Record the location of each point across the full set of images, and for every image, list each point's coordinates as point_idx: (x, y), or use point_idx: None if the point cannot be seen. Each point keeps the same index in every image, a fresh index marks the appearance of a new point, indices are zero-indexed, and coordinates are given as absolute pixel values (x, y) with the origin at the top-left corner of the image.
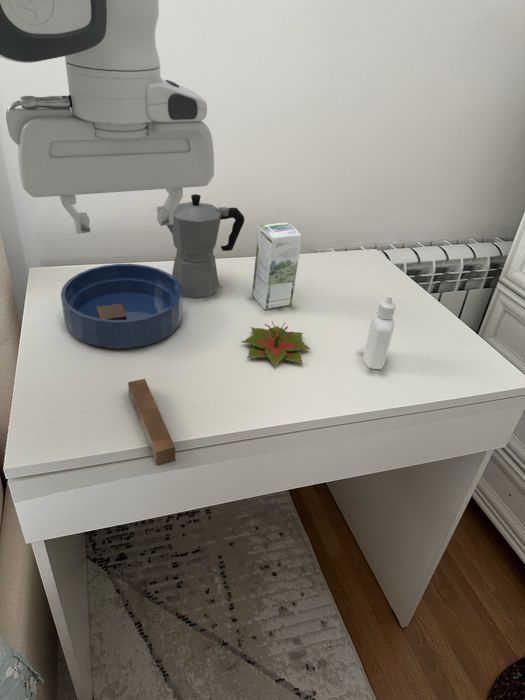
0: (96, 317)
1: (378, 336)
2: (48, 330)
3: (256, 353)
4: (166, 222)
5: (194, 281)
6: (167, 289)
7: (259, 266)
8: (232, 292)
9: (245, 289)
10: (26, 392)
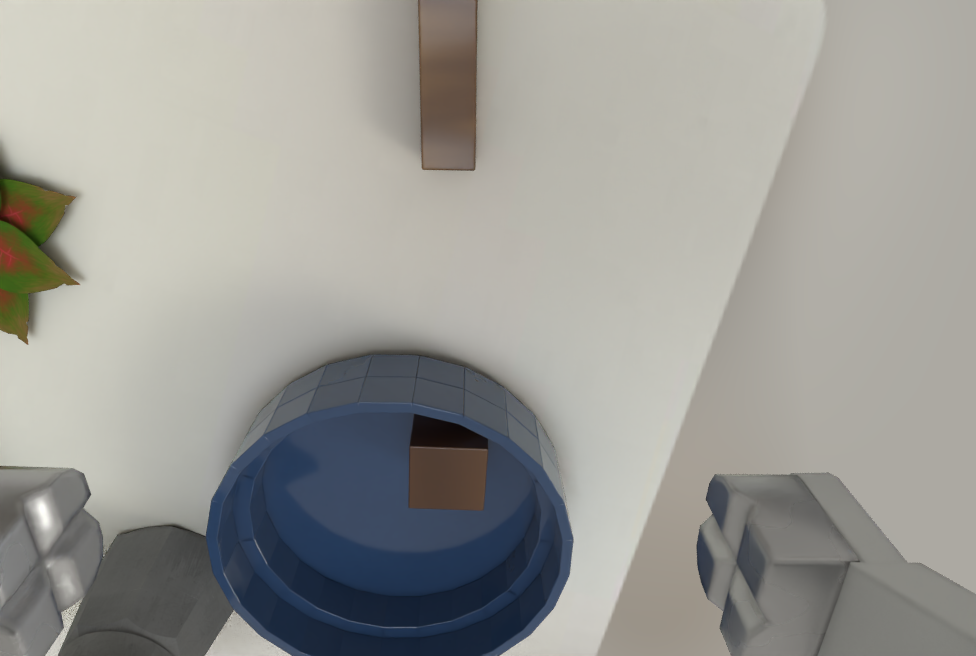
0: None
1: None
2: (603, 492)
3: (36, 212)
4: (4, 477)
5: (161, 573)
6: (254, 557)
7: None
8: None
9: None
10: (721, 266)
